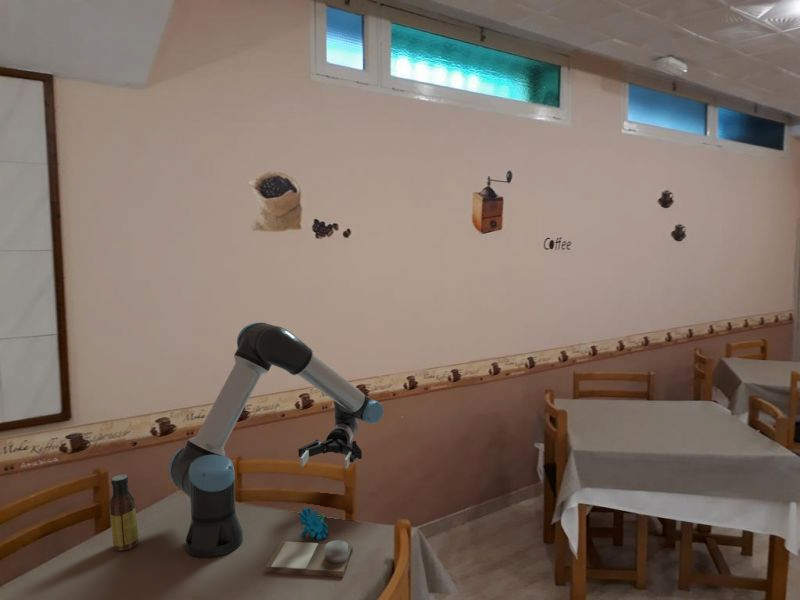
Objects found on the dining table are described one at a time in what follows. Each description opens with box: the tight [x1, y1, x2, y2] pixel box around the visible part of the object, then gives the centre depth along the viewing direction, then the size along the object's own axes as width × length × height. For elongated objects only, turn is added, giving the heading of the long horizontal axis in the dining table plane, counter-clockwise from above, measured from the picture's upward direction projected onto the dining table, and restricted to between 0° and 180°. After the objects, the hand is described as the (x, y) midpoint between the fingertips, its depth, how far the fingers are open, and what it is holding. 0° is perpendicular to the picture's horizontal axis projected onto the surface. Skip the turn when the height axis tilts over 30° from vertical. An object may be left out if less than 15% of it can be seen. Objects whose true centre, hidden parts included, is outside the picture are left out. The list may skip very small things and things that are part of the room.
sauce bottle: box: [109, 474, 139, 552], centre depth 153 cm, size 6×6×20 cm
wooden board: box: [264, 539, 354, 578], centre depth 146 cm, size 20×12×4 cm, turn 83°
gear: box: [299, 507, 329, 541], centre depth 159 cm, size 11×6×10 cm
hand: (323, 463), depth 167 cm, fingers open, 13 cm apart
